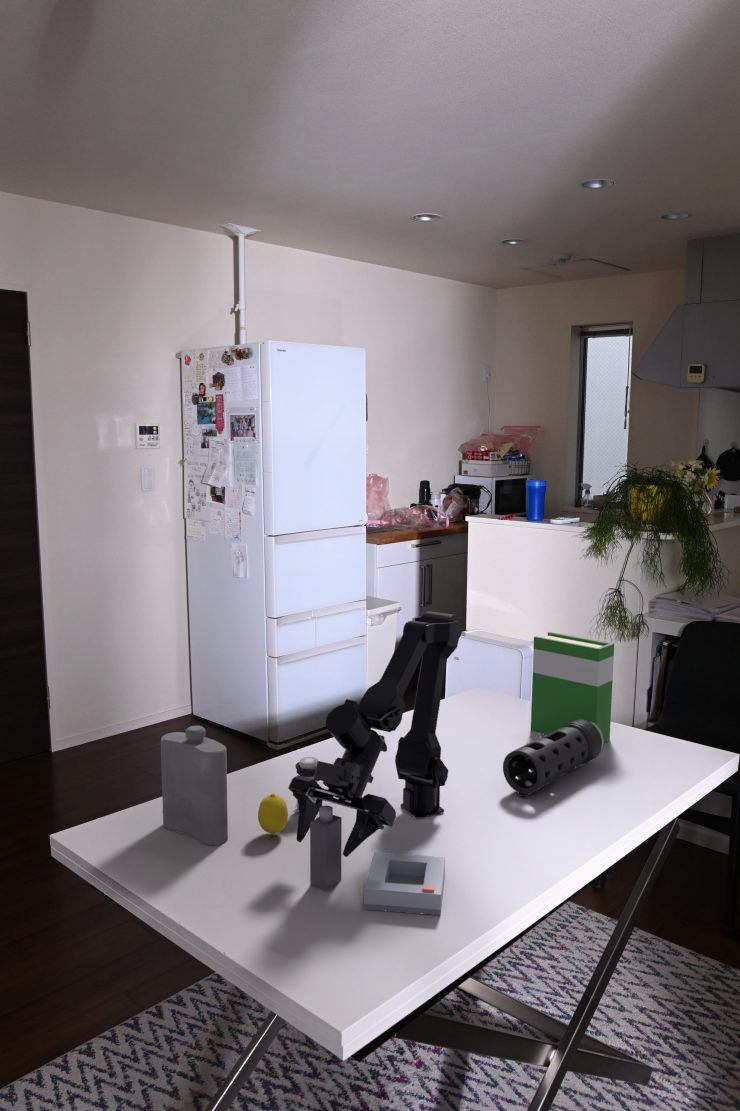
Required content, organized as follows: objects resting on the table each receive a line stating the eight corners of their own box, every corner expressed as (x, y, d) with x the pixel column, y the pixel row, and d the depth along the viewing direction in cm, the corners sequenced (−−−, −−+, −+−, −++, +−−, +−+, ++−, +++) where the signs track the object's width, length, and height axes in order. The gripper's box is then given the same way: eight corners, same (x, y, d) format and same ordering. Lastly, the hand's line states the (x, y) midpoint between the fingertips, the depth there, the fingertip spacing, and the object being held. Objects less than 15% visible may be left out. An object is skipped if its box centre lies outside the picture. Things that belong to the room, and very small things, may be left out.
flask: (236, 836, 161) (235, 732, 158) (213, 849, 157) (211, 741, 154) (181, 815, 170) (178, 716, 167) (157, 826, 165) (154, 724, 162)
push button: (301, 818, 169) (300, 769, 167) (284, 809, 173) (284, 761, 171) (328, 809, 173) (328, 760, 172) (311, 800, 177) (311, 753, 176)
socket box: (374, 871, 149) (374, 849, 148) (444, 876, 147) (445, 855, 147) (363, 909, 137) (364, 886, 137) (440, 915, 136) (441, 892, 135)
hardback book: (530, 730, 219) (533, 636, 216) (546, 723, 225) (549, 631, 221) (594, 748, 207) (599, 649, 204) (609, 740, 213) (614, 643, 209)
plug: (325, 874, 148) (325, 801, 146) (341, 879, 146) (341, 805, 144) (310, 885, 144) (310, 810, 142) (326, 891, 143) (326, 815, 141)
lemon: (275, 844, 158) (275, 802, 157) (252, 836, 161) (251, 795, 160) (294, 832, 163) (294, 791, 162) (270, 825, 166) (270, 785, 165)
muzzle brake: (500, 792, 182) (501, 744, 181) (567, 755, 203) (569, 712, 201) (540, 805, 176) (542, 756, 175) (605, 766, 197) (608, 721, 195)
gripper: (294, 729, 150) (253, 814, 142) (387, 751, 140) (349, 844, 133) (320, 759, 158) (283, 841, 150) (411, 782, 148) (376, 870, 140)
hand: (321, 848), depth 143 cm, fingers open, 9 cm apart
